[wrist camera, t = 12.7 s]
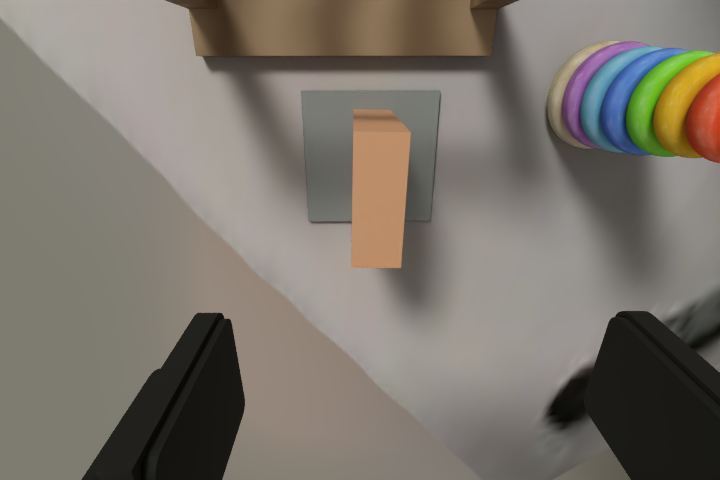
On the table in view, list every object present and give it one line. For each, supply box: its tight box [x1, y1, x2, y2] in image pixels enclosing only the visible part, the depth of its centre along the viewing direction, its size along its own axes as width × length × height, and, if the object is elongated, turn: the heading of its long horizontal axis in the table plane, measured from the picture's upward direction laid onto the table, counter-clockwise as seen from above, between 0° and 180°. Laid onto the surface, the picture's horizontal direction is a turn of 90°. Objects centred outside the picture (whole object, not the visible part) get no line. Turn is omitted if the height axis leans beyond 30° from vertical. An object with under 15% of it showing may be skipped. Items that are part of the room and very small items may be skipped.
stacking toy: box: [547, 41, 720, 163], centre depth 23 cm, size 8×8×19 cm
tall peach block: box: [351, 109, 411, 268], centre depth 27 cm, size 3×8×12 cm, turn 179°
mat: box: [301, 91, 440, 221], centre depth 33 cm, size 11×11×1 cm
